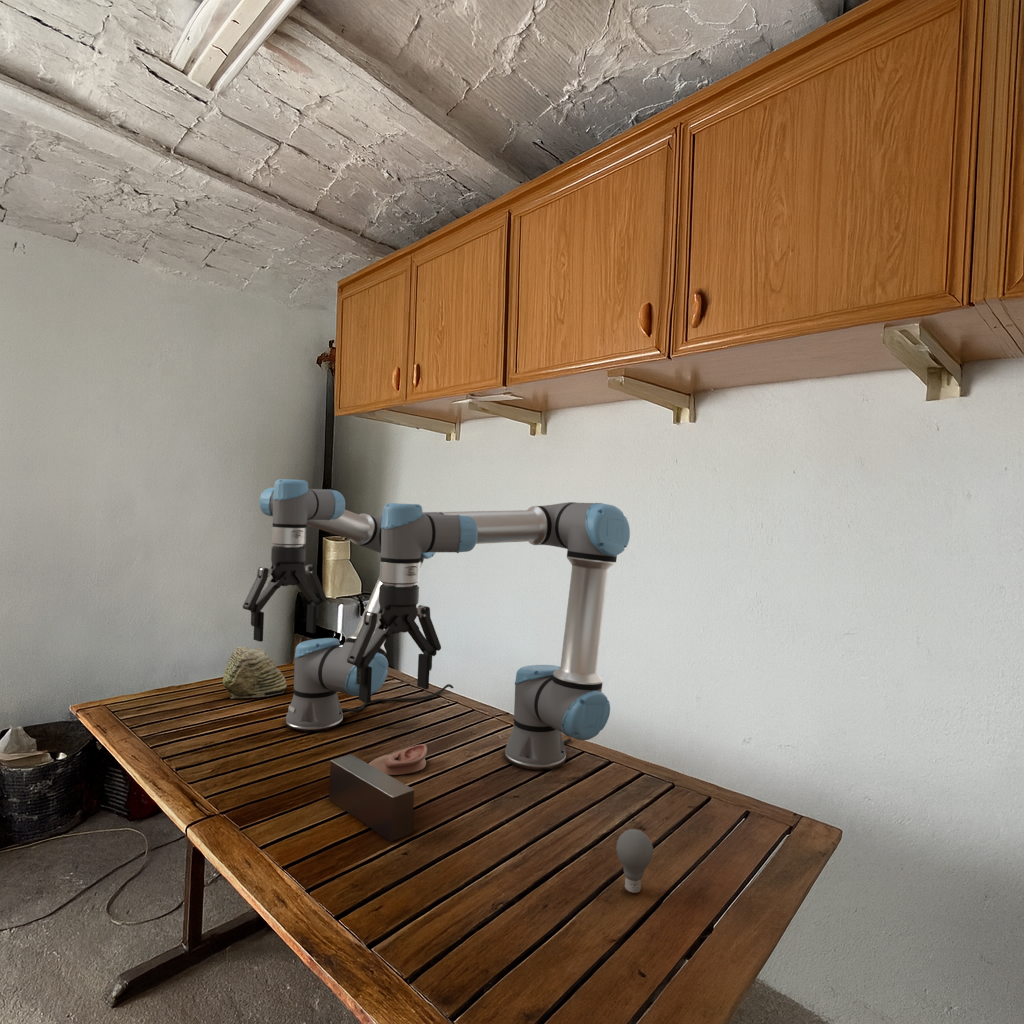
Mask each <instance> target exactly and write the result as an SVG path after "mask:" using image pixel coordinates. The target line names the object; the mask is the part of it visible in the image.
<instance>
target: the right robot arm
mask: <svg viewBox="0 0 1024 1024" xmlns="http://www.w3.org/2000/svg"><path fill="white" fill-rule="evenodd" d="M630 537H631V528H630V524H629V520H628V518H627V516H625V515H624V512H623V511H622V510H621V509H620V508H619V507H617V506H615V505H614V504H610V503H609V504H608V503H603V502H576V501H573V502H571V501H570V502H569V501H568V502H561V503H555V504H554V503H553V504H546V505H534V506H533V505H532V506H530V507H528V509H525V510H523V509H522V510H521V509H520V510H518V509H517V510H475V511H474V510H473V511H472V510H471V511H470V510H469V511H468V510H467V511H437V512H436V511H426V512H425V511H423V506H422V505H421V504H417V503H398V502H395V503H394V502H388V503H386V504H385V505H384V507H383V509H382V525H381V553H380V560H379V561H380V562H379V576H380V577H378V578H379V581H380V582H382V583H383V584H381V585H380V586H379V604H380V610H379V612H378V613H373V612H369V611H366V612H365V614H364V621H363V625H362V627H361V629H360V632H359V634H358V636H357V638H356V641H355V643H354V645H353V647H352V650H351V652H350V654H349V656H348V659H347V662H348V663H350V664H352V665H355V666H356V667H357V674H356V675H357V676H356V682H357V684H359V696H358V701H361V702H362V703H369V704H372V703H371V700H372V695H371V680H372V667H370V666H368V665H369V664H370V662H371V661H372V659H373V658H374V656H375V655H376V653H377V652H378V650H379V649H380V647H381V646H382V644H383V643H384V641H385V640H387V639H388V638H390V637H391V635H397V634H400V633H408V635H409V636H410V637H411V639H412V640H413V641H414V643H415V644H416V645H417V647H418V649H419V650H420V651H421V652H422V653H418V656H417V657H418V659H417V680H416V681H417V682H416V685H417V686H416V687H417V688H420V689H423V690H429V688H430V672H431V671H432V669H433V657H436V655H437V653H438V652H439V651H441V649H442V645H441V643H440V640H439V637H438V634H437V632H436V628H435V626H434V623H433V620H432V618H431V608H430V606H426V605H423V604H419V601H420V599H419V598H420V587H419V585H418V583H420V575H421V574H420V573H421V567H420V556H421V552H422V553H427V552H436V553H456V554H459V553H467V552H471V551H472V550H473V549H474V548H475V546H476V545H481V544H483V545H484V544H502V543H504V544H505V543H523V542H524V543H525V542H527V543H529V544H530V545H532V546H548V547H549V546H550V547H556V548H561V549H566V550H567V552H566V559H567V560H568V561H569V563H570V564H571V572H570V582H569V591H568V598H567V607H566V614H565V615H566V616H565V623H564V624H565V625H564V634H563V642H562V651H561V659H560V666H559V665H554V664H532V665H531V664H530V665H525V666H521V667H520V668H519V669H517V671H516V674H515V680H514V709H513V725H512V730H511V732H510V735H509V737H508V741H507V742H506V745H505V749H504V751H505V752H504V758H505V760H506V761H507V762H508V763H509V764H511V765H512V766H515V767H518V768H520V769H524V770H529V771H549V770H554V769H557V768H560V767H562V766H563V765H564V764H565V763H566V760H567V750H566V746H565V744H568V743H570V742H571V741H572V738H573V739H575V740H578V741H589V740H591V739H593V738H595V737H596V736H598V735H599V734H600V732H601V731H602V730H603V729H604V728H605V727H606V725H607V723H608V721H609V718H610V714H611V703H610V700H609V699H608V696H606V694H605V693H604V692H602V691H603V678H602V677H601V676H600V674H599V672H598V668H599V658H600V650H601V642H602V632H603V623H604V615H605V607H606V599H607V597H606V596H607V588H608V580H609V571H610V570H611V568H613V567H614V566H615V565H617V558H618V556H619V555H620V554H622V553H623V552H624V551H625V548H627V547H628V545H629V543H630V539H631V538H630ZM418 604H419V605H418ZM417 605H418V606H417ZM417 618H418V621H419V624H420V627H421V630H422V631H421V630H420V627H419V625H418V624H417V622H416V619H417ZM378 620H379V621H380V624H379V625H378V626H377V628H376V629H375V627H376V624H377V623H378V622H379V621H378ZM383 629H385V630H383ZM374 630H375V633H374V635H373V632H374ZM372 635H373V636H372ZM371 637H372V638H371ZM385 642H386V641H385ZM384 644H385V643H384ZM562 734H564V735H565V736H566V737H569V738H567V739H565V740H564V738H563V735H562Z"/></svg>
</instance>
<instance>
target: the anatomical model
mask: <svg viewBox="0 0 1024 1024" xmlns="http://www.w3.org/2000/svg"><path fill="white" fill-rule="evenodd" d="M427 754H428V747H427V745H426V744H424V743H421V744H416V745H413V746H409V747H405V748H403V749H401V750H397V751H395V752H392V753H389V754H385V755H382V756H381V755H380V756H379V757H377V758H375V759H372V760H371V761H370V762H368V763H367V764H369V765H371V766H373V767H375V768H376V769H378V770H380V771H382V772H384V773H385V774H387V775H389V776H399V775H406V774H412V773H417V772H419V771H421V770H423V769H424V768H425V767H426V766H427V760H426V756H427Z"/></svg>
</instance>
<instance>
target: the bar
mask: <svg viewBox="0 0 1024 1024" xmlns="http://www.w3.org/2000/svg"><path fill="white" fill-rule="evenodd" d="M329 763H330V765H329V766H330V767H329V791H328V792H329V793H328V800H329V801H330V802H331V803H333V804H334V805H336V806H337V807H339V808H341V810H344V811H345V812H346V813H348V814H349V815H351V816H352V817H354V818H355V819H356V820H358V821H359V822H361V823H363V824H364V825H366V826H367V827H369V828H370V829H371V830H373V831H375V833H377V834H379V835H381V836H382V837H383V838H385V839H386V840H387V841H389V842H390V843H392V842H394V841H397V840H399V839H402V838H403V837H406V836H408V835H411V834H413V824H414V801H415V789H414V788H412V787H410V786H409V785H407V784H405V783H403V782H401V781H400V780H398V779H396V778H394V777H393V776H392V775H387V774H385V773H384V772H382V771H380V770H378V769H376V768H375V767H373V766H371V765H369V764H368V763H367V762H366V761H364V760H362V759H360V758H359V757H357V756H355V755H354V754H352V753H351V754H347V755H344V756H340V757H337V758H334V759H331V760H330V762H329Z"/></svg>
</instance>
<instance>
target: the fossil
mask: <svg viewBox="0 0 1024 1024" xmlns="http://www.w3.org/2000/svg"><path fill="white" fill-rule="evenodd" d="M222 676H223V677H222V685H223V687H224V688H225V690H226V691H228V693H229V698H230V699H250V698H264V697H271V696H275V695H281V694H284V693H285V691H286V689H287V687H288V686H287V680H286V678H285V676H284V674H283V673H282V672H281V669H279V668H278V667H277V665H276V663H275V662H274V660H273V659H272V658H271V657H270V656H269V655H268V654H267V653H266V652H265V650H264V649H263V648H260V647H258V648H251V647H247V646H246V647H245V646H238V647H237V648H236V649H235V650H233V651H232V653H231V656H230V657H229V659H228V660H227V663H226V666H225V668H224V671H223V675H222Z"/></svg>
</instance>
